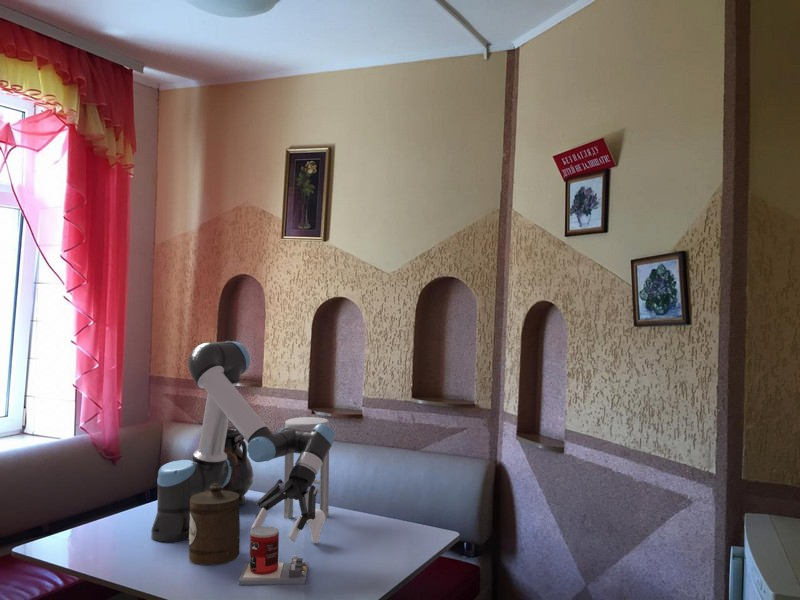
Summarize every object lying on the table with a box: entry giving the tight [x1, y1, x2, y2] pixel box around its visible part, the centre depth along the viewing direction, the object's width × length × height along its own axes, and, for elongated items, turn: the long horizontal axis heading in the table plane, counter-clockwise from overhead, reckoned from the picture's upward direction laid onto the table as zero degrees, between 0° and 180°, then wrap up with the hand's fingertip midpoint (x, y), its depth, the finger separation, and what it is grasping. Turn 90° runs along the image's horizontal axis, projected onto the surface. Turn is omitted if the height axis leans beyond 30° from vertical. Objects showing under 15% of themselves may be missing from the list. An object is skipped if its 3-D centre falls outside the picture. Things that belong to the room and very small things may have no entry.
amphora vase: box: [220, 428, 254, 508], centre depth 252 cm, size 22×22×28 cm
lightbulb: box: [306, 508, 326, 544], centre depth 212 cm, size 6×6×11 cm
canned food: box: [249, 526, 280, 575], centre depth 186 cm, size 8×8×11 cm
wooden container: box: [188, 483, 241, 566], centre depth 200 cm, size 15×15×22 cm
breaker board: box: [238, 554, 309, 586], centre depth 186 cm, size 18×12×4 cm, turn 94°
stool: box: [283, 416, 331, 525], centre depth 239 cm, size 16×16×35 cm
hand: (272, 534), depth 188 cm, fingers open, 13 cm apart
